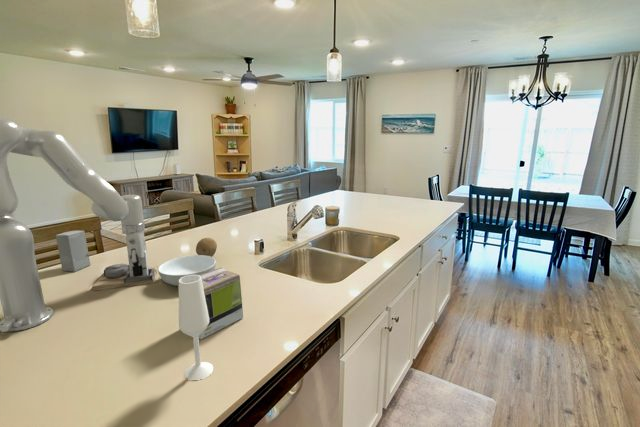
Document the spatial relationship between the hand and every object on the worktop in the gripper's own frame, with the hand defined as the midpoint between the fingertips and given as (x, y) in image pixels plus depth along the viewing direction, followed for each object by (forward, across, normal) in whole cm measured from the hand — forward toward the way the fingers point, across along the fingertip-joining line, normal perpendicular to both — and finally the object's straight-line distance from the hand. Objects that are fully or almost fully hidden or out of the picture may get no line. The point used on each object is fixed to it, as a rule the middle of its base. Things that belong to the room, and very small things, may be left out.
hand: (139, 272), depth 130 cm
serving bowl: (+4, -6, -18) cm, 19 cm away
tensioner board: (+3, +3, +5) cm, 7 cm away
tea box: (+4, -41, -26) cm, 49 cm away
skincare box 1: (+4, +23, +28) cm, 36 cm away
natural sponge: (+4, +16, -25) cm, 30 cm away
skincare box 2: (+4, 0, 0) cm, 4 cm away
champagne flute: (+4, -62, -22) cm, 66 cm away
